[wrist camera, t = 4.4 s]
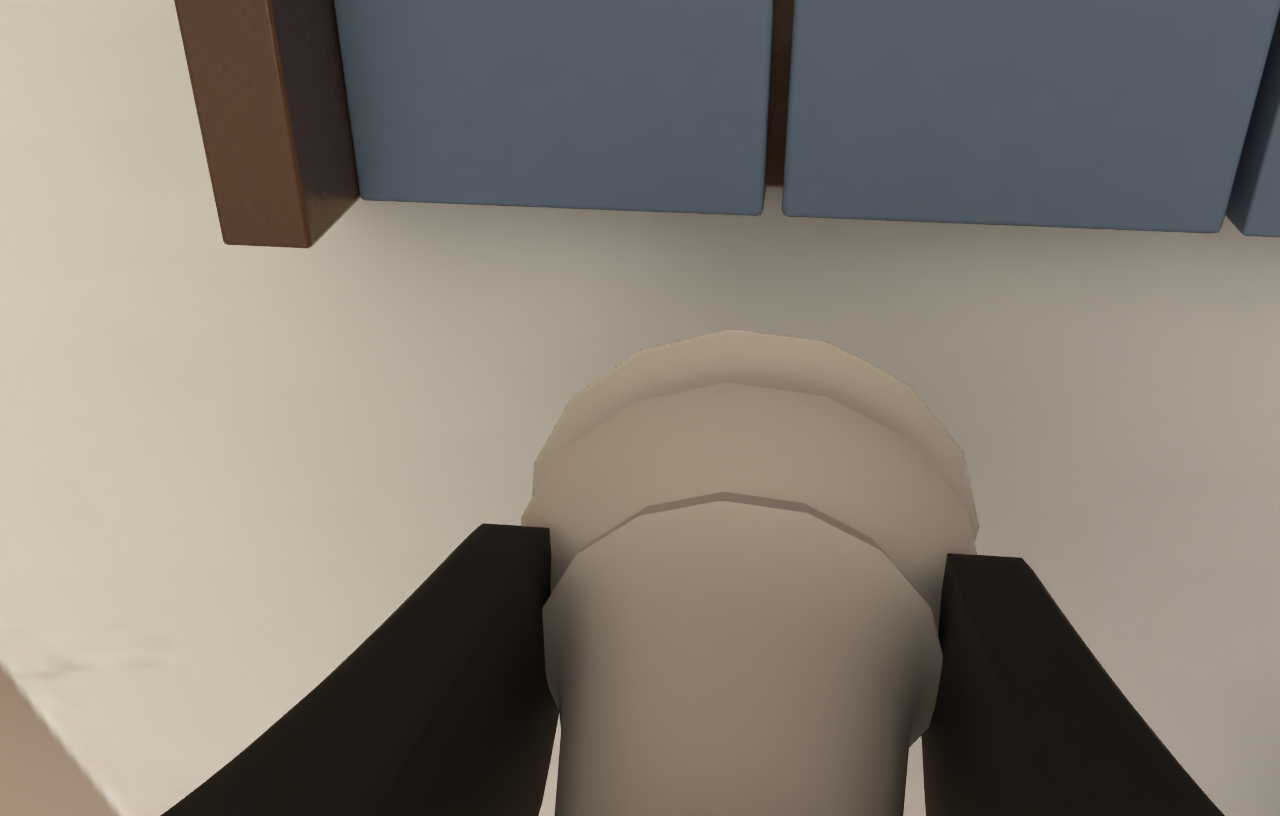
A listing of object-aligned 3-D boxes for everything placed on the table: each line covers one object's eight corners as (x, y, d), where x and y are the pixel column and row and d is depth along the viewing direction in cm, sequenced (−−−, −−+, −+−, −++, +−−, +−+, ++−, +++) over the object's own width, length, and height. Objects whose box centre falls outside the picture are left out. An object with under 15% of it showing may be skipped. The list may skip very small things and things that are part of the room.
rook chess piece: (570, 663, 13) (311, 1648, 6) (505, 316, 11) (8, 1252, 4) (966, 665, 12) (1156, 1783, 6) (980, 294, 10) (1314, 1380, 3)
